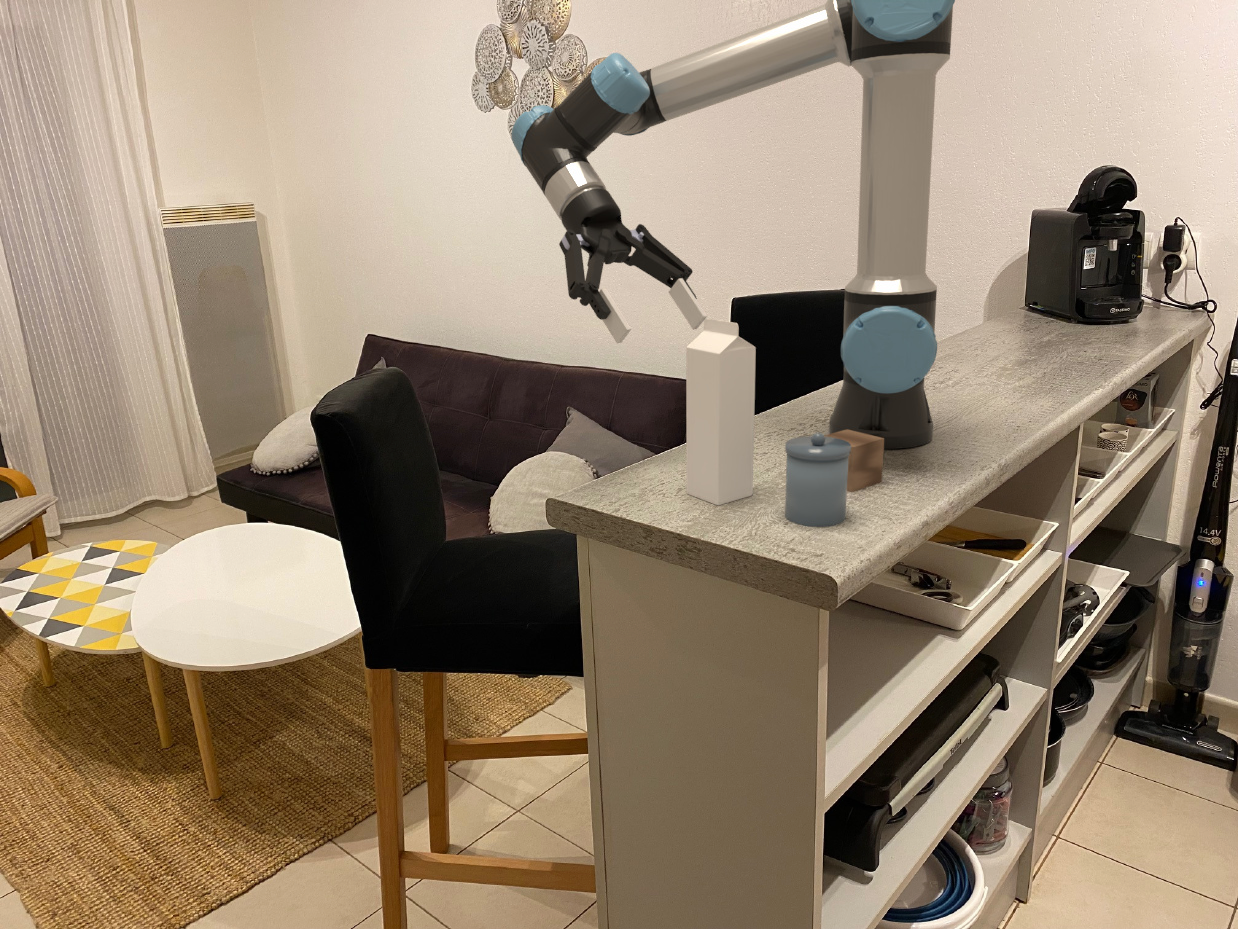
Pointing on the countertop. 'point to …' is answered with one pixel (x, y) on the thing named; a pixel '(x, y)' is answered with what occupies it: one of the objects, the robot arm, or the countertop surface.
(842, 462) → the slate jar
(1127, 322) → the countertop surface
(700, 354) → the milk
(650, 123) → the robot arm
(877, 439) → the walnut block
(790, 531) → the countertop surface
